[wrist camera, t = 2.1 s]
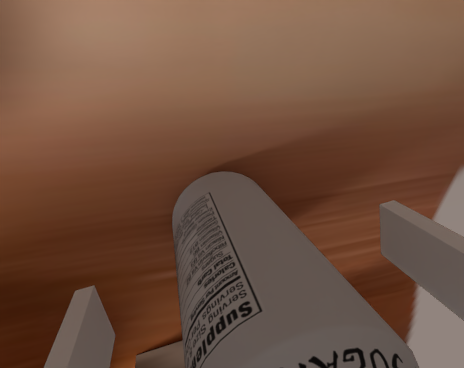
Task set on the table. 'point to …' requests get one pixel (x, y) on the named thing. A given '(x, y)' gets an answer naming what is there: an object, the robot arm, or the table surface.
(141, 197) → the table surface
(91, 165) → the table surface
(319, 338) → the energy drink can
